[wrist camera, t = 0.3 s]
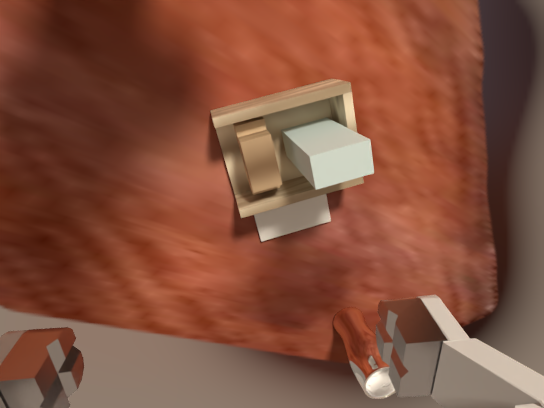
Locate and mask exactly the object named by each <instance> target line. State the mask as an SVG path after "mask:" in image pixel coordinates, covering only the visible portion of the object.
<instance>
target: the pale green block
mask: <svg viewBox="0 0 544 408" xmlns="http://www.w3.org/2000/svg"><path fill="white" fill-rule="evenodd" d="M281 133H282V137H283V142H284V146H285V151H286V156H287V157H288V158H289V159H290V160H291V162H292V163H293V164H294V165H295V166H296V167H297V169H298V170H299V171H300V172H301V173H302V174H303V175H304V177H305V178H306V179H307V180H308V181H309V182H310V184H311V185H312V186H313V187H314V188H315V189H316V190H317V189H321V188H324V187H328V186H331V185H335V184H338V183H342V182H345V181H349V180H352V179H355V178H359V177H362V176H366V175H369V174H373V173H374V167H373V159H372V150H371V142H370V139H368V138H366V137H364V136H362V135H360V134H358V133H356V132H354V131H352V130H350V129H348V128H347V127H345V126H343V125H341V124H339V123H337V122H335V121H333V120H331V119H329V118H327V117H326V118H323V119H319V120H315V121H312V122H308V123H304V124H301V125H297V126H293V127H290V128H286V129H282V130H281Z"/></svg>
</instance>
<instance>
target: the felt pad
mask: <svg viewBox="0 0 544 408" xmlns="http://www.w3.org/2000/svg"><path fill="white" fill-rule="evenodd" d="M254 217H255V221H256V225H257V228H258V232H259V236H260V239H261V242H262V241H265V240H269V239H272V238H275V237H279V236H282V235H286V234H289V233H292V232H296V231H299V230H302V229H306V228H309V227H313V226H316V225H319V224H323V223H326V222H330V221H331V218H330V213H329V207H328V201H327V196H326V194H324V195H320V196H317V197H313V198H310V199H306V200H303V201H299V202H296V203H292V204H289V205H286V206H282V207H279V208H275V209H272V210H268V211H265V212H261V213H258V214H254Z"/></svg>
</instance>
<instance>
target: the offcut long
mask: <svg viewBox="0 0 544 408" xmlns="http://www.w3.org/2000/svg"><path fill="white" fill-rule="evenodd" d="M233 127H234V131H235V134H236V138H237V142H238V145H239V149H240V153H241V156H242V152H241V148H240V144H239V141H238V137H241V136H245V135H249V134H252V133H256V132H260V131H263V130H267V129H266V124H265V120H264V118H263V117H262V116H259V117H256V118H252V119H248V120H244V121H241V122H237V123H233ZM242 160H243V164H244V167H245V163H244V159H243V156H242ZM245 171H246V175H247V179H248V182H249V178H248V174H247V170H246V167H245ZM249 186H250V188H251V185H250V182H249ZM277 188H280V186H277V187H273V188H270V189H266V190H263V191H259V192H256V193H253V190H252V188H251V191H252V194H253V195H256V194H259V193H263V192H266V191H270V190H273V189H277Z"/></svg>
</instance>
